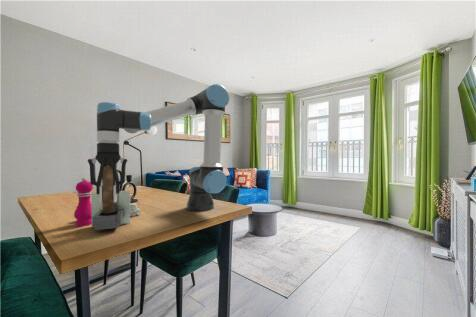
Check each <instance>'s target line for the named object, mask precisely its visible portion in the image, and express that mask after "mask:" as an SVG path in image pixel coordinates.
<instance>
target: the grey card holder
mask: <svg viewBox="0 0 476 317" xmlns="http://www.w3.org/2000/svg"><path fill="white" fill-rule="evenodd" d="M90 199H91V204H92V224H91V228H93V229H94V230H95V231H100V230H101V231H102V230H109V229H119V227H120V225H129V224H131V216H130V204H131V190H120V192H119V193H117V201H116V202H114V212H112V213H102V203H100V194H97V193H96V191H95V192H92V193H91V196H90Z"/></svg>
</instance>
